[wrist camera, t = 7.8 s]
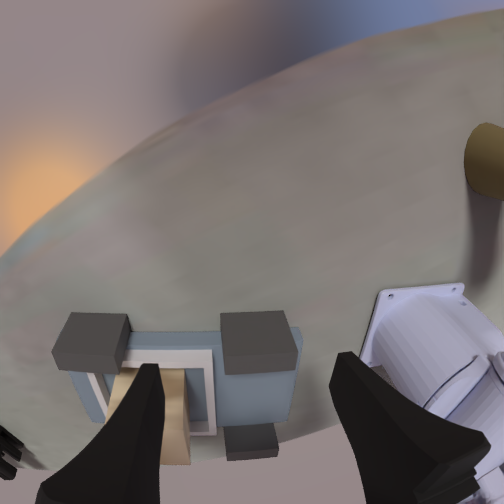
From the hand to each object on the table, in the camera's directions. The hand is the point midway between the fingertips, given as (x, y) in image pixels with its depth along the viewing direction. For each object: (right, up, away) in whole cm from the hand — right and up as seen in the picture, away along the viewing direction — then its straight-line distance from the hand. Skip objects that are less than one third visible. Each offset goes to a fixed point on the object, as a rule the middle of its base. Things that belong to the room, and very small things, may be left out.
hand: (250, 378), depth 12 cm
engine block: (-7, -6, +10) cm, 14 cm away
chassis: (-6, -5, +12) cm, 14 cm away
